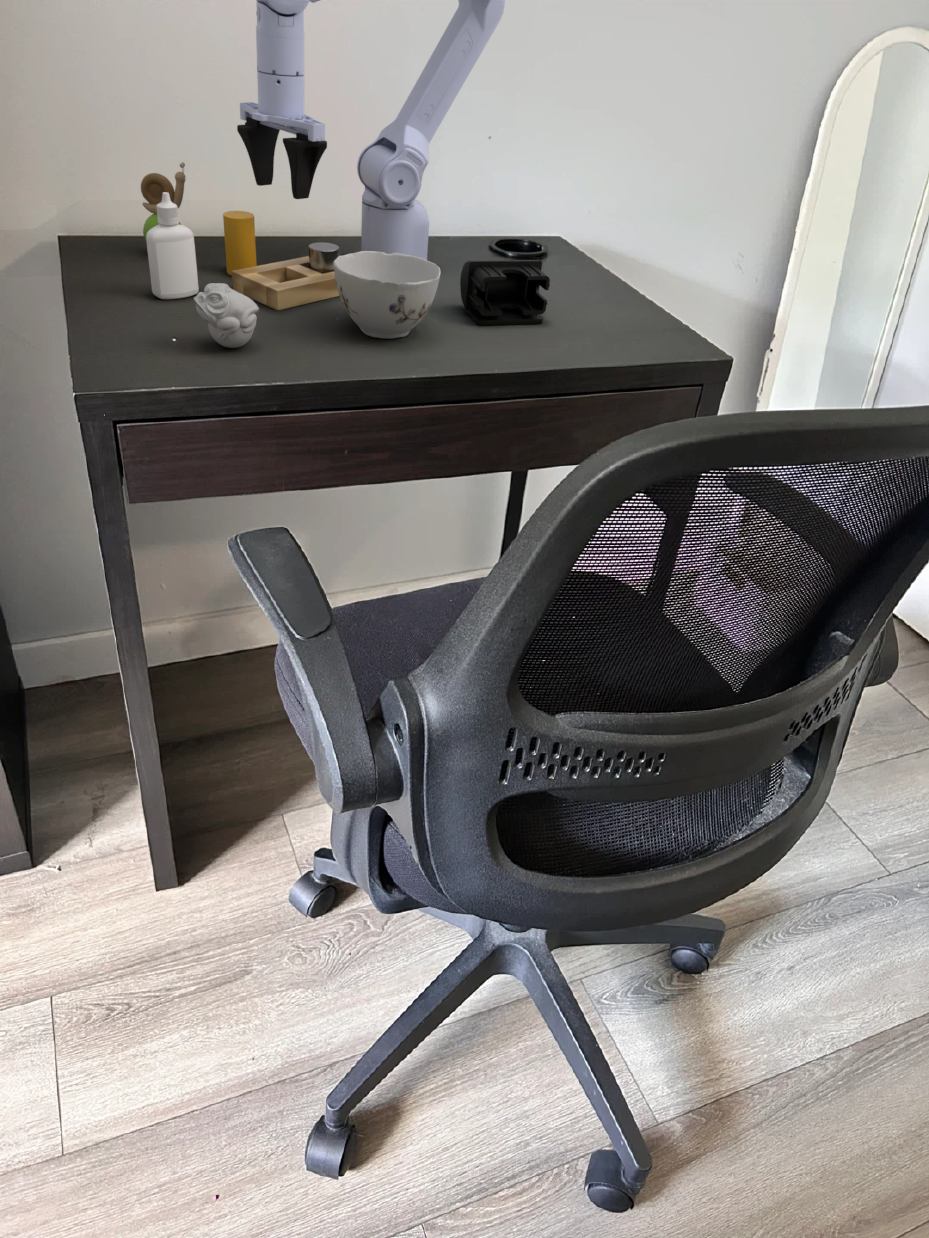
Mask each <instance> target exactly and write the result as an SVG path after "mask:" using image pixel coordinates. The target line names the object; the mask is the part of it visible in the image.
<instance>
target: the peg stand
mask: <svg viewBox="0 0 929 1238" xmlns="http://www.w3.org/2000/svg"><path fill="white" fill-rule="evenodd" d="M231 280H232V281H231V282H232V284H231V285H232V289H233V290H235V291H237V292H238V293H241V294H243V295H245V296H247V297H248V298H250V299H251V300H253V301H255V302H258V303H260V304H262V305H265V306H267V307H269V308H271V309H274V310H275V311H282V310H285V309H290V308H294V307H299V306H303V305H307V304H311V303H315V302H319V301H324V300H328V299H333V298H336V297H340V296H339V293H338V289H337V285H336V281H335V274H334V272H329V273H324V274H321V273H319V272H316V271H314V270H311V269H309V255H305V256H302V257H296V258H291V259H287V260H281V261H276V262H270V263H267V264H260V265H257V266H255V267H250V268H245V269H239V270H234V271H232V275H231Z"/></svg>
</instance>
